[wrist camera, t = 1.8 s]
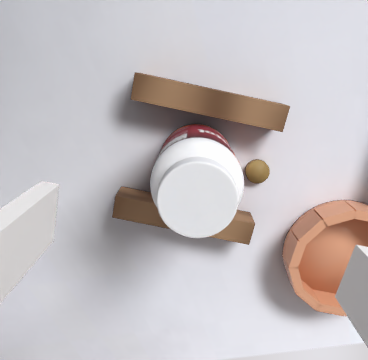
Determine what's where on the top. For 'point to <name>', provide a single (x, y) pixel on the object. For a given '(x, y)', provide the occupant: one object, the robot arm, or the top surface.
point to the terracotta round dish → (324, 251)
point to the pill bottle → (197, 182)
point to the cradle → (210, 106)
